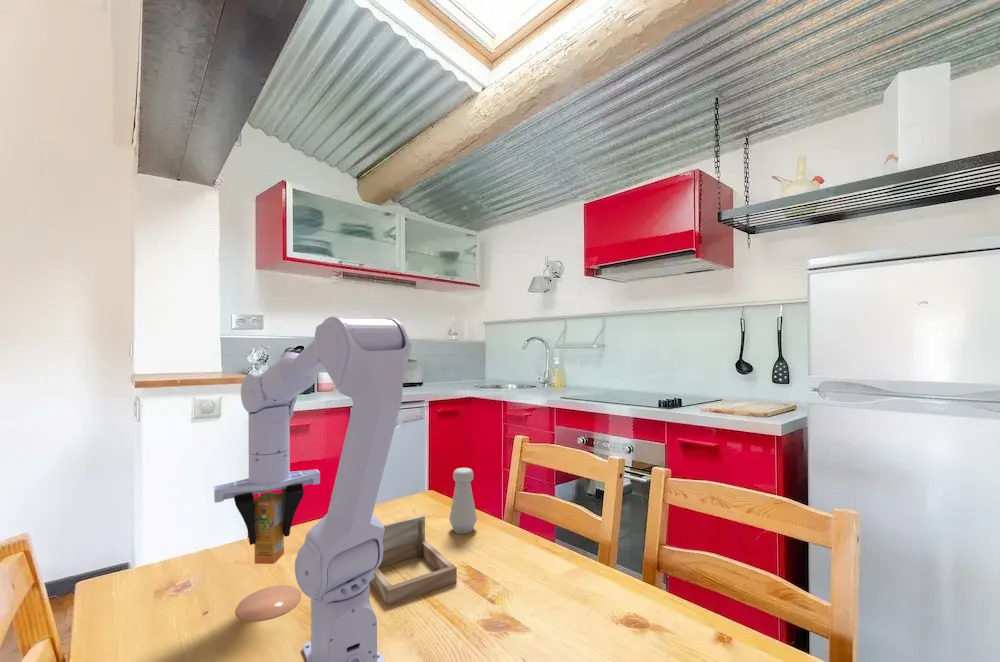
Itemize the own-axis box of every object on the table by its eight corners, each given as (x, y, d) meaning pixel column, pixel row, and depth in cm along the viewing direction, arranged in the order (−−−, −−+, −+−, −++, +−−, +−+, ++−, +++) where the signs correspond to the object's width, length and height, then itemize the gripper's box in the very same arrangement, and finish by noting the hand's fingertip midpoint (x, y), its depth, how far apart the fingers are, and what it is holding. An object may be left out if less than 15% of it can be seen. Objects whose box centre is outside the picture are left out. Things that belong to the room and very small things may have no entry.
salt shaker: (472, 537, 93) (472, 474, 93) (446, 534, 95) (446, 472, 95) (479, 525, 99) (479, 466, 99) (454, 523, 100) (454, 464, 100)
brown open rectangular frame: (456, 582, 77) (456, 540, 77) (388, 606, 70) (388, 561, 70) (423, 551, 87) (423, 515, 87) (361, 570, 81) (361, 530, 81)
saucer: (306, 609, 69) (306, 605, 69) (238, 631, 64) (238, 627, 64) (295, 582, 77) (295, 579, 77) (233, 600, 72) (233, 597, 72)
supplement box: (252, 565, 69) (252, 499, 69) (265, 554, 72) (264, 491, 72) (273, 565, 69) (273, 499, 69) (285, 554, 72) (285, 491, 72)
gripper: (313, 439, 78) (313, 518, 78) (213, 451, 70) (213, 540, 70) (322, 447, 72) (323, 533, 72) (215, 462, 64) (215, 559, 64)
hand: (269, 537), depth 70 cm, fingers closed on supplement box, 4 cm apart
